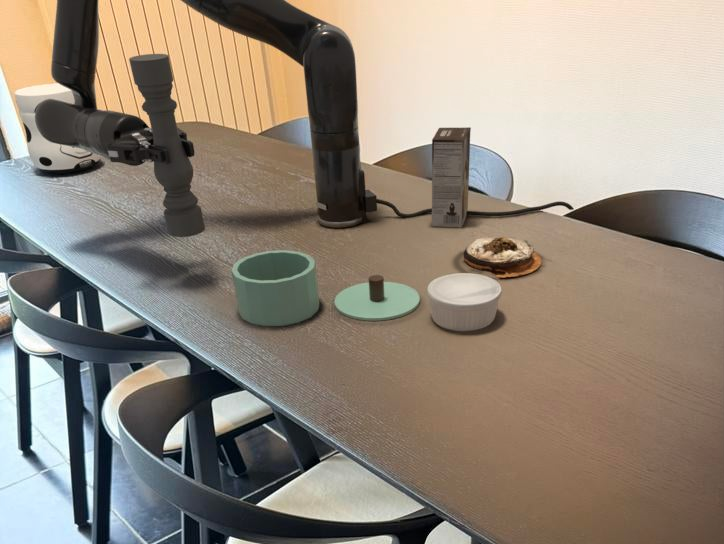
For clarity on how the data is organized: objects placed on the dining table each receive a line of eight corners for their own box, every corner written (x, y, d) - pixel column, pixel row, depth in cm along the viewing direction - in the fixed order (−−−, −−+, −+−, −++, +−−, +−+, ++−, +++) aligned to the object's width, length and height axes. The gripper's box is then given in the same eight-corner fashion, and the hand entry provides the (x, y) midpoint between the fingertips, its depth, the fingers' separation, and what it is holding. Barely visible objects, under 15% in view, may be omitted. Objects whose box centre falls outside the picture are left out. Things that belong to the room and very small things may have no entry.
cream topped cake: (443, 271, 124) (443, 247, 121) (474, 242, 134) (475, 219, 131) (524, 283, 119) (526, 259, 116) (550, 252, 129) (553, 229, 126)
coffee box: (437, 211, 148) (438, 126, 137) (468, 212, 147) (471, 126, 136) (430, 227, 141) (431, 138, 131) (462, 228, 140) (466, 139, 130)
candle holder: (212, 226, 121) (179, 54, 104) (190, 238, 117) (152, 61, 100) (183, 222, 123) (145, 52, 107) (160, 234, 119) (118, 60, 102)
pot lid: (400, 282, 121) (399, 255, 118) (433, 313, 112) (434, 285, 109) (323, 297, 118) (321, 270, 115) (351, 331, 108) (349, 303, 105)
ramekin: (479, 343, 104) (481, 309, 100) (413, 327, 108) (413, 294, 105) (511, 313, 111) (514, 280, 107) (448, 299, 115) (448, 267, 112)
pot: (306, 289, 121) (301, 245, 116) (329, 319, 112) (325, 272, 107) (232, 303, 117) (224, 258, 112) (250, 335, 108) (242, 288, 103)
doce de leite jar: (92, 177, 178) (68, 95, 166) (24, 179, 178) (-4, 98, 166) (113, 158, 191) (92, 81, 179) (50, 160, 191) (25, 83, 180)
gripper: (73, 121, 113) (134, 136, 104) (148, 103, 120) (211, 116, 112) (88, 171, 118) (147, 190, 109) (159, 151, 125) (220, 167, 117)
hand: (179, 152), depth 110 cm, fingers closed on candle holder, 4 cm apart
